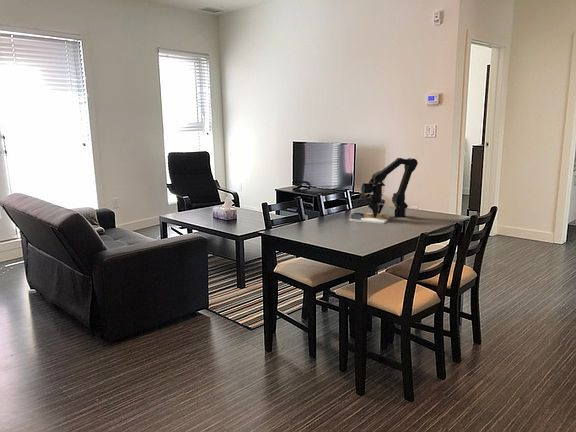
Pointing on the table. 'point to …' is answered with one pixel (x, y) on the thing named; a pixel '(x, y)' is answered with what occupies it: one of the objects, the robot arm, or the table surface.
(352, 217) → the bracket plate
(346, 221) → the table surface
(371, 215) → the oak rail
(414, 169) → the robot arm
